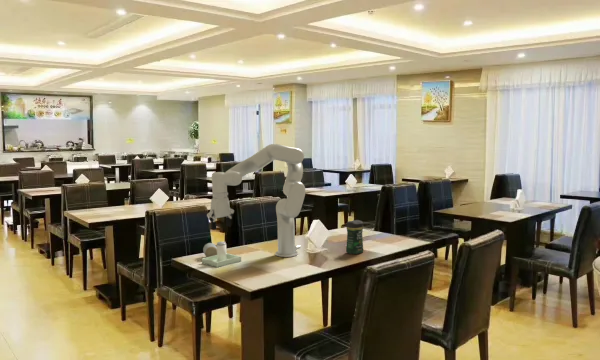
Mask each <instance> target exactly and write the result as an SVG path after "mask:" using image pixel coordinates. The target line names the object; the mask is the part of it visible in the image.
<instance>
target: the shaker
mask: <svg viewBox="0 0 600 360" xmlns="http://www.w3.org/2000/svg"><path fill="white" fill-rule="evenodd" d="M216 247H217V262H219V261H223V260H227V243H226V241H218V242H216Z"/></svg>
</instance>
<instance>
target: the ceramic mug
mask: <svg viewBox="0 0 600 360" xmlns="http://www.w3.org/2000/svg"><path fill="white" fill-rule="evenodd" d="M202 251H203V253H204V254H203V255H205V258H206V257H211V256H215V255H217V244H215V243H212V242H208V243H205V244H204V246H203V248H202Z"/></svg>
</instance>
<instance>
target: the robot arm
mask: <svg viewBox="0 0 600 360" xmlns="http://www.w3.org/2000/svg"><path fill="white" fill-rule="evenodd" d="M304 159H305V154H304V151H303V150H302V149H300V148H298V147H292V146H287V145H283V144H278V143H270V144H268V145H266V146H265V147H264V148H261V149H260V150H259V151H257V152H256V153H254V154H253V155H251V156H250V157H248V158H245V159H244V160H242V161H240V162H238V163H237V164H235V165H234V166H232V167H230V168H229V169H228V170H226V171H225V172H223V171H217V172H216V171H214V172H212V173H211V186H212V187H211V188H212V198H211V201H210V208H209V209H210V211H209V212H208V213H207V214H206V217H207V219H208V220H209V222H210V223H211V224H210V225H211V230H217V222H216V221H217V219H219V218H225V217H226V219H225V223H226V224H225V226H226V227H229V228H231V226H232V219H233V216H234V213H235V210H234V209H233V208H231V207H230V200H229V192H228V186H233V187H234V186H239V185H240V184H241V183H242V181H243V177H244V176H246V175H248V174H250V173H251V174H252V173H255V172H259V171H260V170H262V169H263V168H264V167H266V166H267V165H269V164H270V163H273V161H280V162H284V163H286V165H287V172H286V176H285V180H284V184H283V188H282V192H283V194H284V195H285V196H287V197H286V198H281V199H280V200H278V201H277V203H276V205H275V212H276V218H277V219H276V221H277V223H276V224H277V251H276V252H274V255H275V256H277V257H280V258H290V257H291V258H292V257H296V256H297V255H298V254H299V252H298V250H300V249H301V245H296V244H295V243H296V240H295V239H296V238H295V237H296V235H295V231H296V230H295V228H296V227H295V226H296V225H295V218H297V217H298V216H299V214H300V213H301V210H302V207H303V203H304V200H305V196H306V186H305V184H304V183H303V182H302V178H303V175H304V174H303V173H304V166H303V160H304Z"/></svg>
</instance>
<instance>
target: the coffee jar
mask: <svg viewBox="0 0 600 360" xmlns="http://www.w3.org/2000/svg"><path fill="white" fill-rule="evenodd" d="M363 230H364V222H363V221H362V220H359V219H353V220H348V221H347V222H346V233H347V234H346V247H345V248H346V253H348V254H349V255H351V254H352V255H353V254H354V255H359V254H361V253H363V252H364V241H363V232H364V231H363Z"/></svg>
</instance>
